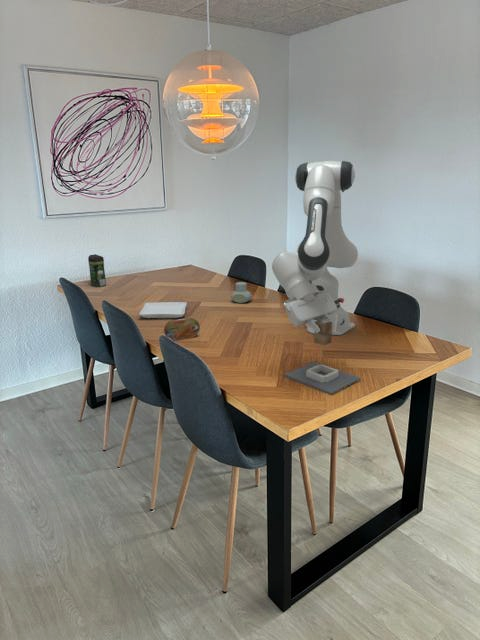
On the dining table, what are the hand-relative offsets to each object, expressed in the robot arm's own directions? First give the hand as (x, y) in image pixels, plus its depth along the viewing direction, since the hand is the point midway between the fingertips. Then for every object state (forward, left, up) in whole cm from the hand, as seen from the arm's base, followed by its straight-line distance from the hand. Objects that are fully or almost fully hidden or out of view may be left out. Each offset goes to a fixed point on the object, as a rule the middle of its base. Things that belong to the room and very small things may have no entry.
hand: (324, 329), depth 163 cm
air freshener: (-46, -90, -18) cm, 103 cm away
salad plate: (-5, -101, -18) cm, 103 cm away
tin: (+10, -66, -18) cm, 69 cm away
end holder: (0, 0, -17) cm, 17 cm away
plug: (0, -1, -5) cm, 5 cm away
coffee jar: (-10, -178, -18) cm, 179 cm away
